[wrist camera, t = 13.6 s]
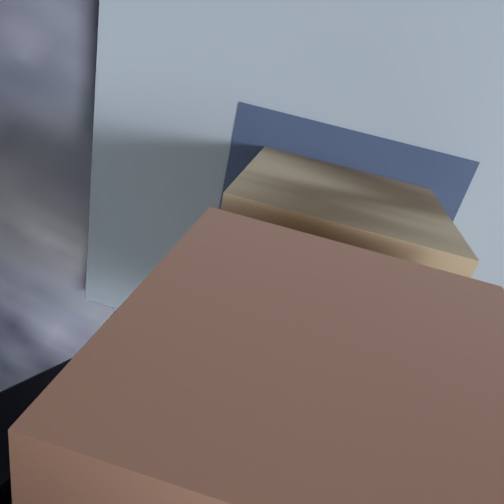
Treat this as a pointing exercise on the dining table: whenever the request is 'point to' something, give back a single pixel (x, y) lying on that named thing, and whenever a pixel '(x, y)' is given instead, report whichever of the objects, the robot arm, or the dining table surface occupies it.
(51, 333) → the dining table surface
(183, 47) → the build board
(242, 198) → the maple block
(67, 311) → the dining table surface
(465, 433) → the terracotta block
